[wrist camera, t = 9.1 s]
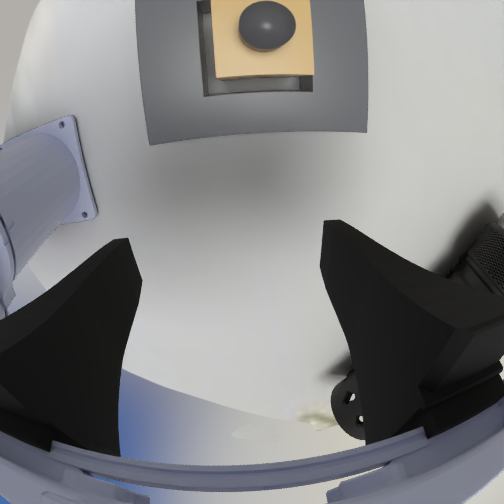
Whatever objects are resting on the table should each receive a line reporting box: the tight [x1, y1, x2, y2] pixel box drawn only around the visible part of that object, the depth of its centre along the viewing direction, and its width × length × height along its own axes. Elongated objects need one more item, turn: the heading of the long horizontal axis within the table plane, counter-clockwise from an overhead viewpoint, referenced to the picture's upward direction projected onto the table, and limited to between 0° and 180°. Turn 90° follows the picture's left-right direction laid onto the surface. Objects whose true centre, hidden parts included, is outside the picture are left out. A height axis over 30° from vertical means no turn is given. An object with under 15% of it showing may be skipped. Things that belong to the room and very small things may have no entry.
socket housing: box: [135, 0, 368, 145], centre depth 12 cm, size 12×10×3 cm
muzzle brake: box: [331, 213, 504, 440], centre depth 23 cm, size 10×28×10 cm, turn 152°
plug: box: [211, 0, 314, 80], centre depth 10 cm, size 4×4×8 cm
